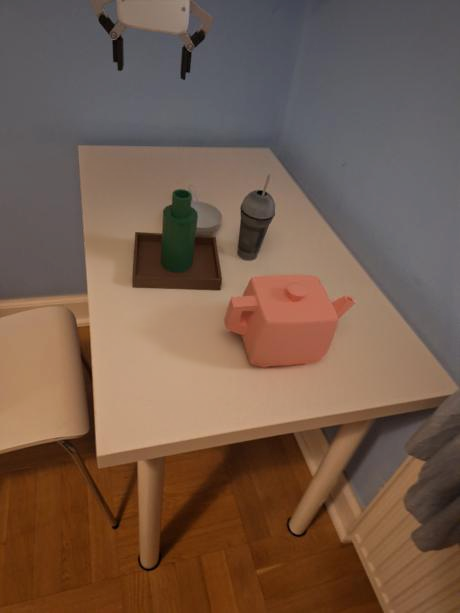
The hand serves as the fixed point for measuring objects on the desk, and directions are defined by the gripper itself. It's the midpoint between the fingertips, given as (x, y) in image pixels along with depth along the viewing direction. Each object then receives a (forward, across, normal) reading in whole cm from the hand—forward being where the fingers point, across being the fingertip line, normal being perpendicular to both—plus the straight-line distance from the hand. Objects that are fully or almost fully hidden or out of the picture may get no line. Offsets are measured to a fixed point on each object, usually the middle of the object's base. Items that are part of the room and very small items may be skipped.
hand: (152, 72), depth 64 cm
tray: (+34, -6, +6) cm, 35 cm away
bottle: (+33, -6, +6) cm, 34 cm away
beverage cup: (+34, -22, +1) cm, 41 cm away
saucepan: (+34, -11, -12) cm, 38 cm away
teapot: (+34, -24, +27) cm, 50 cm away
